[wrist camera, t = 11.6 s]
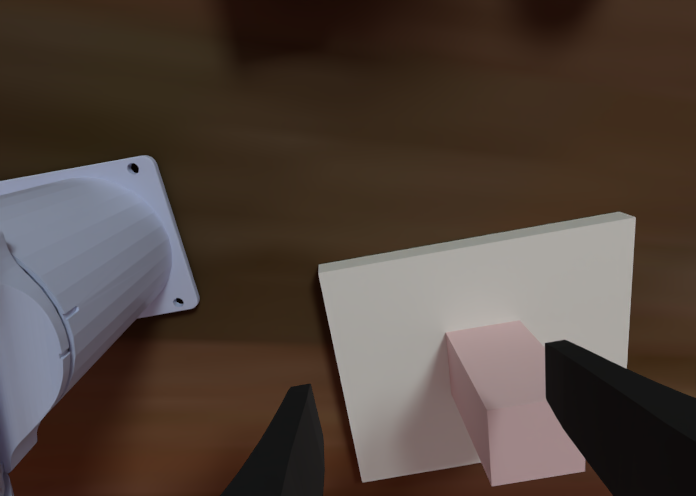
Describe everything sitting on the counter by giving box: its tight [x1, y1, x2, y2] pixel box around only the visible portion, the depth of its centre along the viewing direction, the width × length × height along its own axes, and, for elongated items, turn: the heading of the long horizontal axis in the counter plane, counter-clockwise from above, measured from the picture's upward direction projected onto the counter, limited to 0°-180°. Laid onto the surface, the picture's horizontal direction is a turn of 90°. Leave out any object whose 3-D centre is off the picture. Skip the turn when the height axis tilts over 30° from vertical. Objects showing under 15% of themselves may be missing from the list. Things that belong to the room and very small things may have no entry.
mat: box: [318, 212, 636, 483], centre depth 23 cm, size 16×14×1 cm
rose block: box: [446, 320, 585, 486], centre depth 19 cm, size 4×4×6 cm
